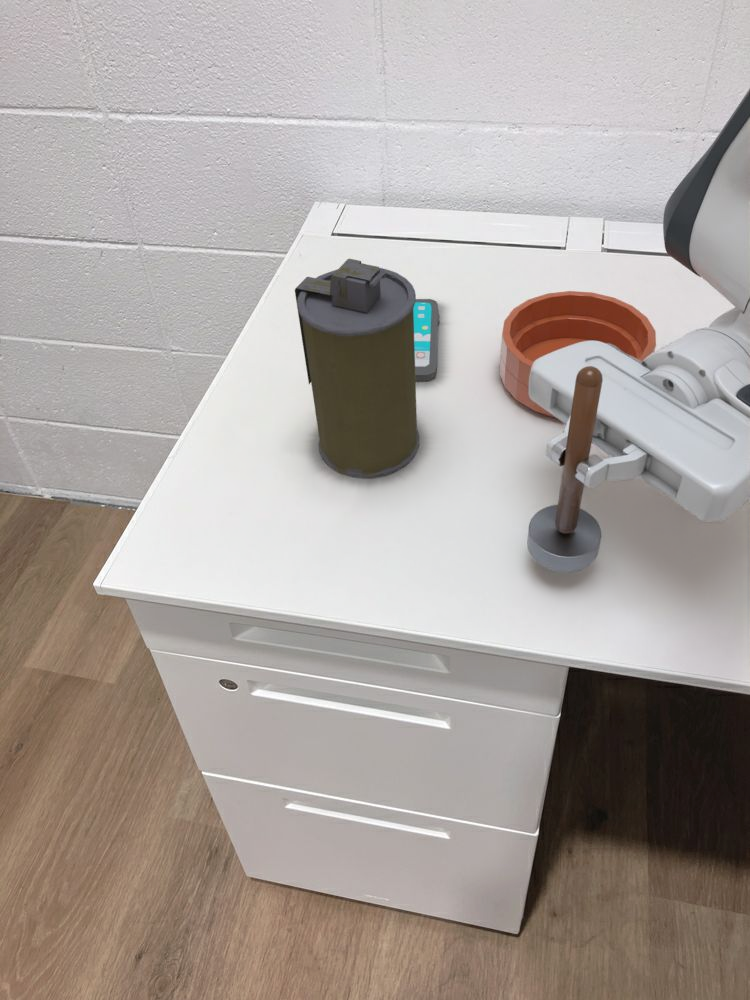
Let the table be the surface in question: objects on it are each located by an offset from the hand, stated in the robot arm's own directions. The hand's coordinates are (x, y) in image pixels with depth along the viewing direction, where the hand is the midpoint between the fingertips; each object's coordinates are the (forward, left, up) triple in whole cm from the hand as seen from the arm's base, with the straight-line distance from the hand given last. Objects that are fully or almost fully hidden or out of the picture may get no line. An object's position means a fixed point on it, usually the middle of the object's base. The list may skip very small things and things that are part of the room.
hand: (567, 466), depth 61 cm
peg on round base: (0, -1, -10) cm, 10 cm away
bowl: (+8, -26, -12) cm, 30 cm away
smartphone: (+28, -24, -12) cm, 39 cm away
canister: (+23, -7, -13) cm, 27 cm away
